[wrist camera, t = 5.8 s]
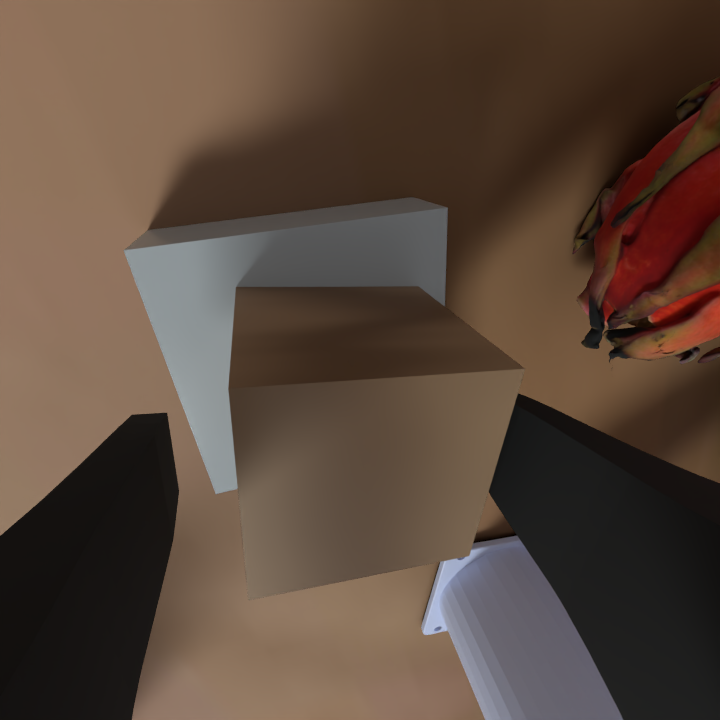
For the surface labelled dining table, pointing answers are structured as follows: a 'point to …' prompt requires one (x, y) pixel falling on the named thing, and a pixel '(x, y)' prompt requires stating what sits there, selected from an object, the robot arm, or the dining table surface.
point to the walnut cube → (360, 431)
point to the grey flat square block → (269, 269)
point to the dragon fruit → (661, 243)
